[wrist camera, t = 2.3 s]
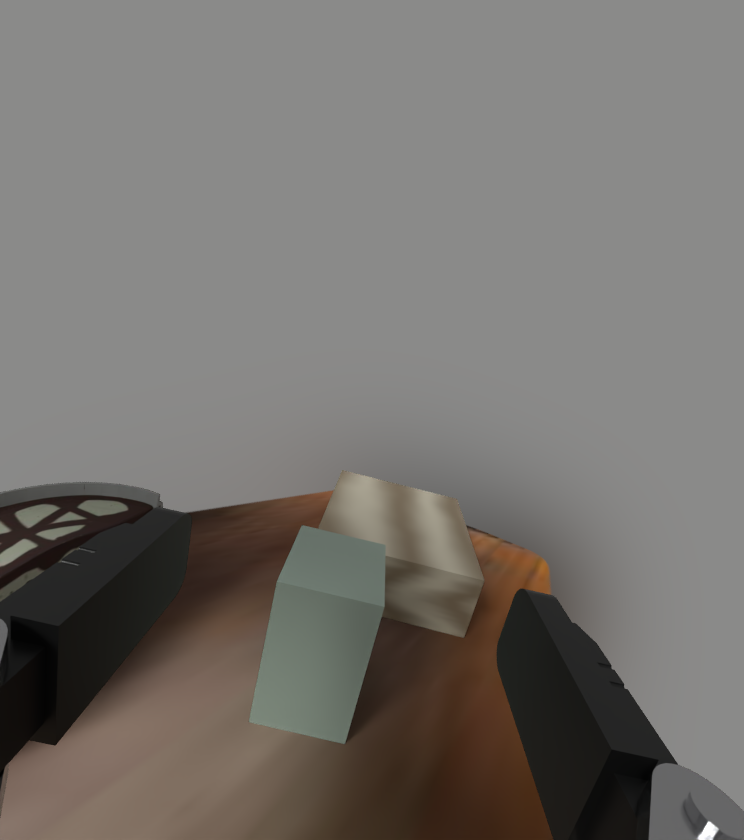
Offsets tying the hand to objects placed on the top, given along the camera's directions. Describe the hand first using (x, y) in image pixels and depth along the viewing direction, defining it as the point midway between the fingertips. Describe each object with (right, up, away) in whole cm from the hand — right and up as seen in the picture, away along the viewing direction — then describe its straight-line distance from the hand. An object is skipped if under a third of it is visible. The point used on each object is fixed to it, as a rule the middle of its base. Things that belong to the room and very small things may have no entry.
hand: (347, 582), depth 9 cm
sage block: (-4, -13, +15) cm, 20 cm away
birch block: (+2, -11, +30) cm, 32 cm away
